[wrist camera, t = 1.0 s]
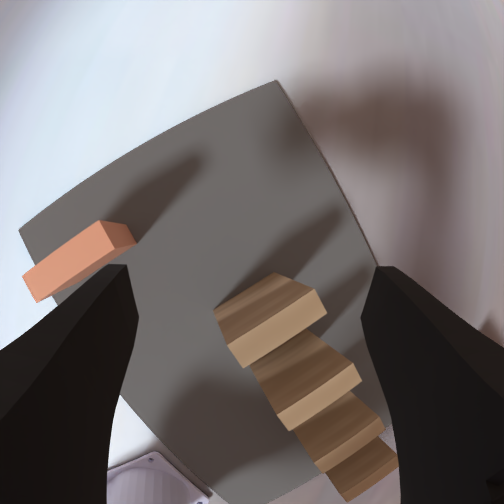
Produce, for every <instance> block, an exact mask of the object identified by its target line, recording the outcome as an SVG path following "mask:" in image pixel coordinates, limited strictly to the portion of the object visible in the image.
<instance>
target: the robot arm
mask: <svg viewBox="0 0 504 504" xmlns="http://www.w3.org/2000/svg"><path fill="white" fill-rule="evenodd" d="M360 319H361V323H362V328H363V333H364V337H365V341H366V345H367V348H368V351H369V354H370V357H371V360H372V362H373V365H374V368H375V371H376V374H377V376H378V379H379V382H380V385H381V388H382V390H383V393H384V396H385V399H386V402H387V405H388V409H389V412H390V416H391V420H392V425H393V431H394V436H395V442H396V448H397V456H398V464H399V475H400V490H401V504H504V348H503V347H502V346H500V345H499V344H497V343H496V342H494V341H493V340H491V339H490V338H488V337H487V336H485V335H483V334H482V333H481V332H479V331H478V330H476V329H475V328H474V327H472V326H471V325H470V324H468V323H467V322H466V321H464V320H463V319H462V318H460V317H459V316H458V315H456V314H455V313H454V312H453V311H451V310H450V309H449V308H447V307H446V306H445V305H444V304H442V303H441V302H440V301H439V300H437V299H436V298H435V297H434V296H432V295H431V294H430V293H429V292H428V291H426V290H425V289H424V288H423V287H421V286H420V285H419V284H417V283H416V282H415V281H414V280H412V279H411V278H410V277H408V276H407V275H406V274H404V273H403V272H402V271H400V270H399V269H397V268H395V267H394V266H378V267H376V268H375V272H374V275H373V279H372V282H371V285H370V289H369V292H368V295H367V298H366V302H365V305H364V308H363V311H362V314H361V317H360ZM138 322H139V314H138V310H137V306H136V302H135V298H134V294H133V290H132V285H131V281H130V276H129V272H128V267H127V264H107V265H106V266H104V267H103V268H102V269H100V270H99V271H98V272H97V273H95V274H94V275H93V276H92V277H91V278H90V279H88V280H87V281H86V282H85V283H84V284H83V285H81V286H80V287H79V288H78V289H77V290H76V291H74V292H73V293H72V294H71V295H70V296H69V297H68V298H66V299H65V300H64V301H63V302H62V303H61V304H60V305H58V306H57V307H56V308H55V309H53V310H52V311H51V312H50V313H49V314H47V315H46V316H45V317H44V318H43V319H41V320H40V321H39V322H38V323H37V324H35V325H34V326H33V327H32V328H30V329H29V330H28V331H27V332H25V333H24V334H23V335H21V336H20V337H18V338H17V339H16V340H14V341H13V342H11V343H10V344H9V345H7V346H6V347H4V348H3V349H2V350H0V504H207V503H209V502H210V500H209V497H208V496H206V495H205V494H204V493H203V492H202V491H201V490H199V489H198V488H197V487H196V486H195V485H194V484H192V483H191V482H190V481H189V480H188V479H187V478H186V477H185V476H183V475H182V474H181V473H180V472H179V471H178V470H177V469H176V468H175V467H174V466H173V465H172V464H171V463H170V462H168V461H167V460H166V459H165V458H164V457H163V456H162V455H161V454H160V453H159V452H151V453H149V454H147V455H144V456H142V457H140V458H138V459H135V460H133V461H131V462H128V463H126V464H124V465H121V466H119V467H116V468H114V469H111V470H109V471H107V470H108V457H109V446H110V438H111V430H112V423H113V418H114V413H115V409H116V405H117V402H118V398H119V395H120V391H121V388H122V384H123V381H124V378H125V374H126V371H127V368H128V364H129V361H130V358H131V355H132V351H133V348H134V344H135V338H136V333H137V327H138ZM149 458H152V459H153V460H150V459H149Z"/></svg>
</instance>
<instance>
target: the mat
mask: <svg viewBox="0 0 504 504" xmlns="http://www.w3.org/2000/svg"><path fill="white" fill-rule="evenodd" d="M98 220H102V221H108V222H114V223H120V224H126V225H127V227H128V229H129V230H130V232H131V234H132V236H133V237H134V239H135V241H136V243H137V244H136V245H135V246H133V247H131V248H130V249H128V250H127V251H125V252H124V253H122V254H121V255H119V256H117V257H116V258H114V259H113V260H111V261H110V262H108V263H107V264H127V267H128V272H129V276H130V281H131V285H132V290H133V294H134V298H135V302H136V306H137V310H138V314H139V322H138V327H137V333H136V338H135V344H134V348H133V351H132V355H131V358H130V361H129V364H128V368H127V371H126V374H125V378H124V381H123V384H122V388H121V391H120V395H121V396H122V397H123V399H124V400H125V401H126V402H127V403H128V405H129V406H130V407H131V408H132V409H133V411H134V412H135V413H136V414H137V415H138V416H139V417H140V419H141V420H142V421H143V422H144V423H145V424H146V425H147V426H148V428H149V429H150V430H151V431H152V432H153V433H154V434H155V435H156V436H157V437H158V438H159V439H160V440H161V441H162V443H163V444H164V445H165V446H166V447H167V448H168V449H169V450H170V451H171V452H172V453H173V454H174V455H175V456H176V457H177V458H178V459H179V460H180V461H181V462H182V463H183V464H185V465H186V466H187V467H188V468H189V469H190V470H191V471H192V472H193V473H194V474H195V475H196V476H197V477H198V478H200V479H201V480H202V481H203V482H204V483H205V484H206V485H207V486H209V487H210V488H211V489H212V490H213V491H214V492H216V493H217V494H218V495H219V496H220V497H221V498H223V499H224V500H225V501H226V502H228V503H229V504H267V503H269V502H271V501H273V500H275V499H277V498H279V497H280V496H282V495H284V494H286V493H288V492H290V491H292V490H293V489H295V488H297V487H299V486H301V485H302V484H304V483H306V482H307V481H309V480H311V479H313V478H314V477H316V476H317V475H319V474H321V473H322V472H321V471H320V470H319V469H318V467H317V466H316V465H315V464H314V462H313V461H312V459H311V458H310V456H309V455H308V453H307V451H306V450H305V448H304V447H303V445H302V443H301V442H300V440H299V439H298V437H297V436H296V434H295V432H294V431H293V429H292V430H290V431H288V429H287V428H286V427H285V425H284V424H283V423H282V421H281V420H280V419H279V417H278V416H277V415H276V413H275V411H274V409H273V408H272V406H271V404H270V402H269V401H268V399H267V397H266V395H265V393H264V392H263V390H262V388H261V386H260V384H259V382H258V381H257V379H256V377H255V375H254V373H253V371H252V370H251V368H250V366H249V365H248V366H246V367H245V368H242V366H241V365H240V363H239V362H238V361H237V359H236V358H235V356H234V355H233V353H232V352H231V350H230V349H229V347H228V346H227V344H226V342H225V339H224V337H223V335H222V332H221V330H220V327H219V325H218V322H217V320H216V317H215V315H214V312H213V310H214V309H215V308H217V307H219V306H220V305H222V304H224V303H225V302H227V301H228V300H230V299H232V298H233V297H235V296H236V295H238V294H240V293H241V292H243V291H244V290H246V289H248V288H249V287H251V286H252V285H254V284H256V283H257V282H259V281H260V280H262V279H264V278H265V277H267V276H268V275H270V274H271V273H273V272H275V273H278V274H280V275H282V276H285V277H287V278H290V279H292V280H294V281H297V282H299V283H302V284H304V285H307V286H309V287H311V288H314V289H315V291H316V293H317V295H318V296H319V298H320V300H321V302H322V304H323V306H324V308H325V310H326V312H327V314H325V315H324V316H323V317H321V318H320V319H318V320H317V321H315V322H314V323H313V324H311V325H310V326H308V327H307V328H305V329H308V330H309V331H310V332H312V333H313V334H314V335H316V336H317V337H318V338H320V339H321V340H322V341H324V342H325V343H326V344H328V345H329V346H331V347H332V348H333V349H335V350H336V351H337V352H339V353H340V354H341V355H343V356H344V357H346V358H347V359H348V360H350V361H351V362H352V363H353V364H354V366H355V368H356V370H357V372H358V374H359V376H360V378H361V380H362V382H360V383H359V384H358V385H356V386H355V387H354V388H352V389H351V390H350V391H351V392H352V393H353V394H354V395H355V396H356V397H358V398H359V399H360V400H361V401H362V402H363V403H364V404H365V405H367V406H368V407H369V408H370V409H371V410H372V411H374V412H375V413H376V414H377V415H378V416H379V417H380V419H381V421H382V423H383V425H384V427H385V428H386V427H388V426H389V425H390V424H391V423H392V420H391V416H390V412H389V409H388V405H387V402H386V399H385V396H384V393H383V390H382V388H381V385H380V382H379V379H378V376H377V374H376V371H375V368H374V365H373V362H372V360H371V357H370V354H369V351H368V348H367V345H366V341H365V337H364V333H363V328H362V323H361V319H360V317H361V314H362V311H363V308H364V305H365V302H366V298H367V295H368V292H369V289H370V285H371V282H372V279H373V275H374V272H375V268H376V267H377V265H376V263H375V261H374V258H373V256H372V254H371V252H370V250H369V247H368V245H367V243H366V241H365V239H364V237H363V235H362V233H361V231H360V229H359V226H358V224H357V222H356V220H355V218H354V216H353V214H352V212H351V210H350V208H349V206H348V204H347V202H346V201H345V199H344V197H343V195H342V193H341V191H340V189H339V187H338V185H337V183H336V181H335V180H334V178H333V176H332V174H331V172H330V170H329V169H328V167H327V165H326V163H325V161H324V160H323V158H322V156H321V154H320V152H319V151H318V149H317V147H316V145H315V144H314V142H313V140H312V139H311V137H310V135H309V133H308V132H307V130H306V128H305V127H304V125H303V123H302V122H301V120H300V118H299V117H298V115H297V114H296V112H295V110H294V109H293V107H292V105H291V104H290V102H289V101H288V99H287V98H286V96H285V94H284V93H283V91H282V90H281V88H280V87H279V85H278V84H277V82H276V81H272V82H270V83H267V84H265V85H262V86H260V87H257V88H255V89H253V90H250V91H248V92H246V93H243V94H241V95H239V96H236V97H234V98H232V99H230V100H227V101H225V102H223V103H221V104H219V105H217V106H215V107H212V108H210V109H208V110H206V111H204V112H202V113H200V114H198V115H196V116H194V117H192V118H190V119H188V120H186V121H184V122H182V123H180V124H178V125H176V126H175V127H173V128H171V129H169V130H167V131H165V132H163V133H162V134H160V135H158V136H156V137H154V138H153V139H151V140H149V141H147V142H145V143H144V144H142V145H140V146H139V147H137V148H135V149H133V150H132V151H130V152H128V153H127V154H125V155H123V156H122V157H120V158H119V159H117V160H115V161H114V162H112V163H111V164H109V165H107V166H106V167H104V168H103V169H101V170H100V171H98V172H97V173H95V174H93V175H92V176H90V177H89V178H87V179H86V180H85V181H83V182H82V183H80V184H79V185H77V186H76V187H74V188H73V189H71V190H70V191H69V192H67V193H66V194H64V195H63V196H62V197H60V198H59V199H58V200H56V201H55V202H53V203H52V204H51V205H49V206H48V207H47V208H45V209H44V210H43V211H42V212H40V213H39V214H38V215H36V216H35V217H34V218H33V219H31V220H30V221H29V222H28V223H26V224H25V225H24V226H23V227H21V228H20V229H19V230H18V231H19V233H20V235H21V237H22V239H23V241H24V244H25V246H26V248H27V250H28V252H29V254H30V256H31V258H32V260H33V262H34V264H35V265H37V264H38V263H39V262H41V261H42V260H43V259H45V258H46V257H47V256H49V255H50V254H51V253H53V252H54V251H55V250H57V249H58V248H59V247H61V246H62V245H64V244H65V243H66V242H68V241H69V240H71V239H72V238H73V237H75V236H76V235H78V234H79V233H81V232H82V231H83V230H85V229H86V228H88V227H89V226H91V225H92V224H94V223H95V222H97V221H98ZM107 264H105V265H104V266H106V265H107ZM104 266H102V267H101V268H99V269H98V270H96V271H95V272H93V273H92V274H90V275H89V276H87V277H86V278H84V279H83V280H81V281H80V282H78V283H76V284H74V285H72V286H70V287H68V288H66V289H64V290H62V291H60V292H58V293H56V294H54V295H52V297H53V298H54V300H55V302H56V303H57V305H60V304H61V303H62V302H63V301H64V300H65V299H66V298H68V297H69V296H70V295H71V294H72V293H73V292H74V291H76V290H77V289H78V288H79V287H80V286H81V285H83V284H84V283H85V282H86V281H87V280H88V279H90V278H91V277H92V276H93V275H94V274H95V273H97V272H98V271H99V270H100V269H102V268H103V267H104ZM302 331H303V330H302ZM299 333H300V332H299ZM296 335H297V334H296ZM293 337H294V336H293ZM290 339H291V338H290ZM287 341H288V340H287ZM284 343H285V342H284ZM281 345H282V344H281ZM278 347H279V346H278ZM275 349H276V348H275ZM273 350H274V349H273ZM273 350H272V351H273ZM270 352H271V351H270ZM267 354H268V353H267ZM264 356H265V355H264ZM262 357H263V356H262ZM262 357H261V358H262ZM259 359H260V358H259ZM256 361H257V360H256ZM253 363H254V362H253ZM251 364H252V363H251Z"/></svg>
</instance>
